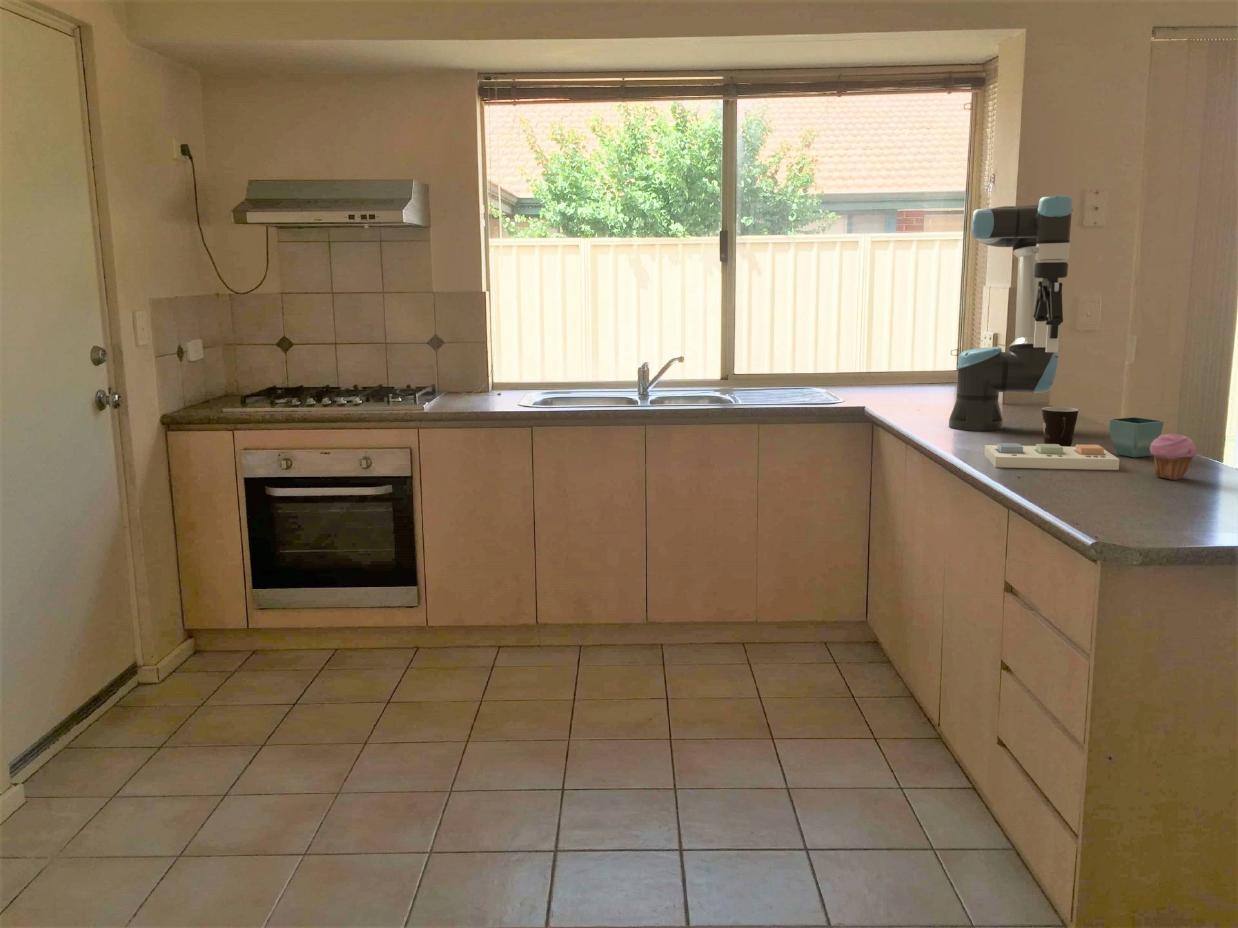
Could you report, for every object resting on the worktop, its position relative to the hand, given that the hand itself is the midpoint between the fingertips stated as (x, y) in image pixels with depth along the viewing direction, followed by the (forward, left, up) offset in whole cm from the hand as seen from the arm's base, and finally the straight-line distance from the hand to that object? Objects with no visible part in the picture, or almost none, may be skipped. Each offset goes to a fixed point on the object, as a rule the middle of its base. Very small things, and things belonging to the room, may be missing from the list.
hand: (1045, 349), depth 244 cm
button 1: (+13, -9, -25) cm, 29 cm away
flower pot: (+2, +22, -26) cm, 34 cm away
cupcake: (+29, +22, -26) cm, 45 cm away
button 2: (+13, 0, -25) cm, 28 cm away
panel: (+13, 0, -26) cm, 29 cm away
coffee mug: (-7, +6, -26) cm, 28 cm away
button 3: (+13, +9, -25) cm, 29 cm away
